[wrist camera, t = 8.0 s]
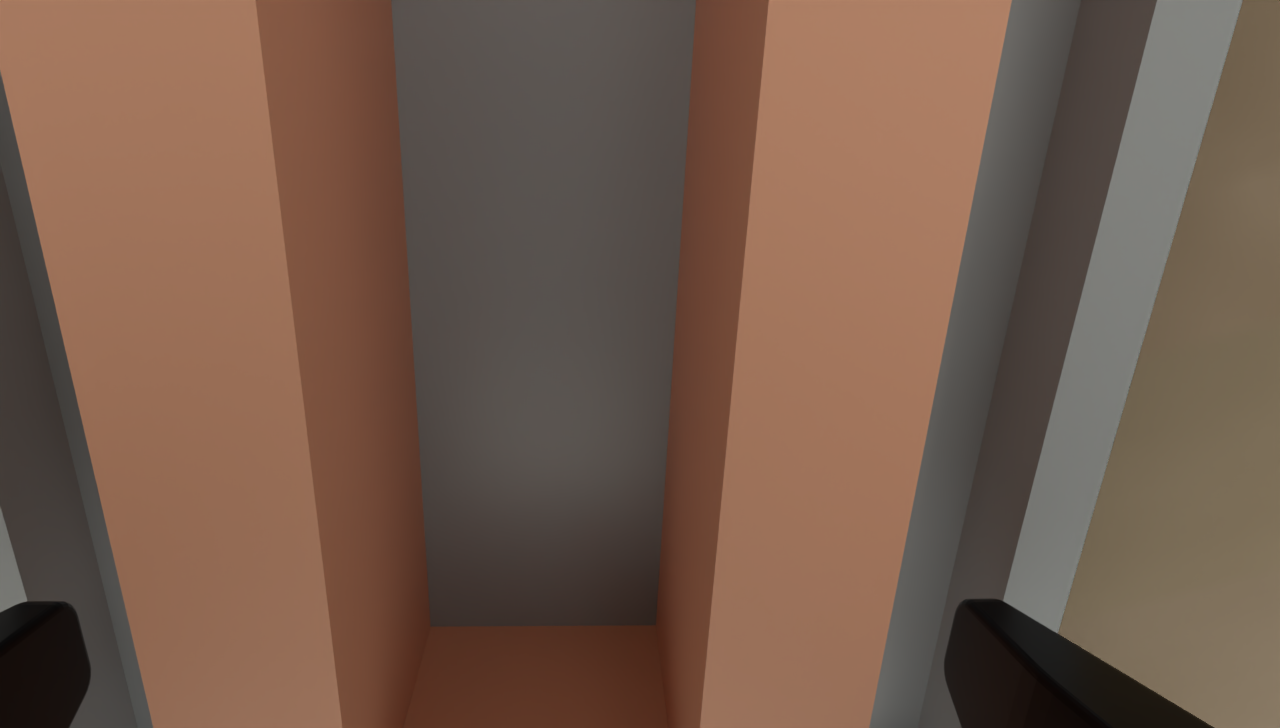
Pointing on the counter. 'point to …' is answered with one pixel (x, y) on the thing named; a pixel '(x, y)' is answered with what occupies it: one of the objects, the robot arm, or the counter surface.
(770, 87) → the salmon slotted frame
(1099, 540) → the counter surface
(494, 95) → the tray
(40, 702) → the robot arm
